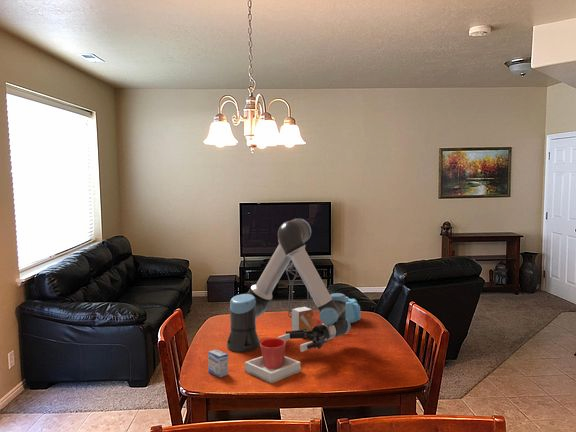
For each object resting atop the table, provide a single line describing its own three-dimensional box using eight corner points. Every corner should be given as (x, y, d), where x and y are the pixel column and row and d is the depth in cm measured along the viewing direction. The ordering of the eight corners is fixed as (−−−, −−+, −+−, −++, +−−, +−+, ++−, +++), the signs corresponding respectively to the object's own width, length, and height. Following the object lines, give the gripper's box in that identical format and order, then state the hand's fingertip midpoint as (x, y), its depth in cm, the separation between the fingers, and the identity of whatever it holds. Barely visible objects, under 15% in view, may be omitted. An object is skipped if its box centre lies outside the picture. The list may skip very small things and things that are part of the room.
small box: (298, 337, 239) (298, 311, 238) (291, 334, 244) (291, 308, 243) (312, 334, 243) (312, 309, 242) (304, 331, 249) (304, 306, 248)
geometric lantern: (286, 326, 257) (285, 260, 254) (286, 318, 272) (284, 256, 270) (316, 325, 257) (315, 259, 255) (314, 317, 273) (313, 255, 270)
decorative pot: (361, 326, 255) (361, 301, 254) (330, 326, 257) (330, 300, 256) (359, 317, 272) (360, 293, 270) (330, 316, 273) (330, 292, 272)
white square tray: (271, 383, 187) (271, 373, 187) (244, 371, 199) (244, 362, 199) (300, 371, 198) (300, 362, 198) (273, 360, 210) (273, 351, 210)
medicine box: (207, 372, 199) (207, 351, 198) (216, 369, 202) (216, 348, 201) (219, 377, 193) (219, 356, 192) (228, 374, 196) (228, 353, 195)
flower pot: (255, 367, 201) (254, 344, 200) (270, 358, 210) (270, 336, 209) (276, 372, 195) (276, 349, 194) (291, 363, 204) (291, 340, 203)
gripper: (345, 347, 210) (310, 361, 196) (303, 334, 228) (269, 345, 214) (345, 330, 210) (310, 342, 195) (303, 318, 228) (269, 328, 213)
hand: (289, 344), depth 204 cm, fingers open, 13 cm apart
